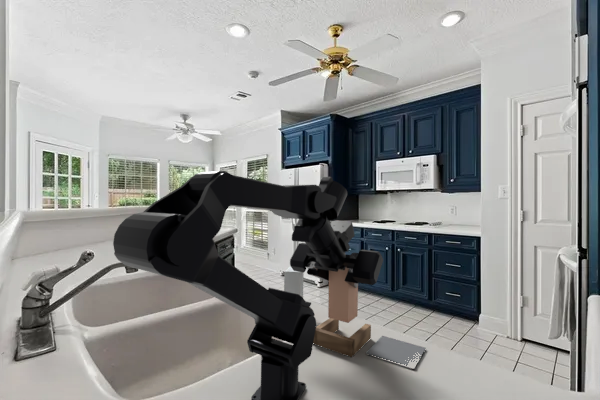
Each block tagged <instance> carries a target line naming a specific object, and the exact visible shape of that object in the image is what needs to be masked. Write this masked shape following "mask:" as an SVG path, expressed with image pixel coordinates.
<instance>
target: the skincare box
mask: <svg viewBox="0 0 600 400" xmlns="http://www.w3.org/2000/svg"><path fill="white" fill-rule="evenodd" d="M304 274H305V272H304V273H303V272H298V271H294V270H293V269H292V267H291V266H288V268H286V270H284V275H283V276H284V278H283V281H284V283H283V285H284V286H283V291H287V292H291V293H296V294H299V295H300V296H301V297H303V298H304Z"/></svg>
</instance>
